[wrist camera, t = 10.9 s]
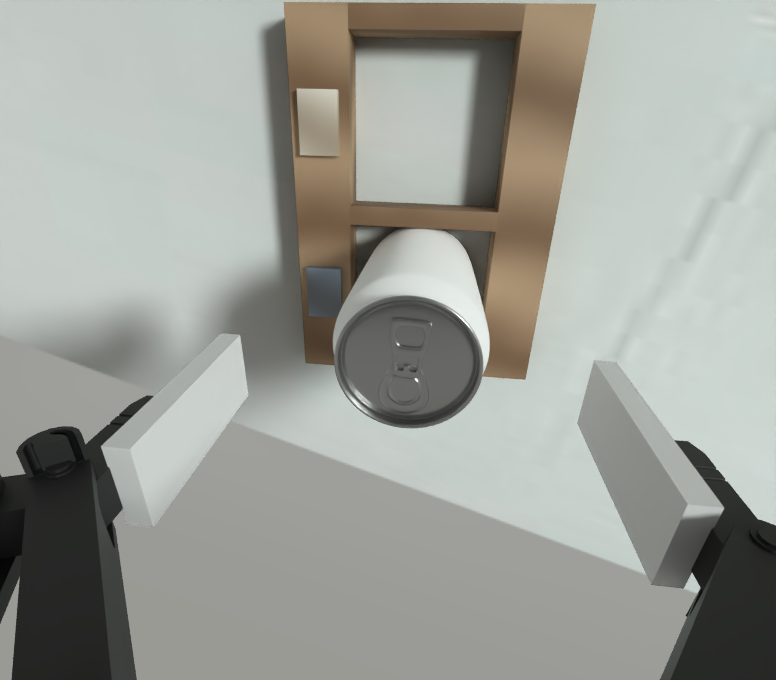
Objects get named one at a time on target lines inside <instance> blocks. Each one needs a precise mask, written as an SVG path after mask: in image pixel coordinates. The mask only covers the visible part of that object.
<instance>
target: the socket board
mask: <svg viewBox="0 0 776 680" xmlns="http://www.w3.org/2000/svg"><path fill="white" fill-rule="evenodd" d="M595 7H596V4H515V3H344V2H284V13H285V30H286V46H287V63H288V79H289V96H290V112H291V128H292V145H293V161H294V178H295V194H296V211H297V227H298V244H299V260H300V277H301V293H302V310H303V326H304V342H305V359H306V363H312V364H326V365H334V351H333V333H334V328H335V324H336V320H337V317H338V315H339V313H340V310H341V308H342V306H343V304H344V302H345V301H346V299H347V297H348V295H349V293H350V291H351V290H352V288H353V286H354V284H355V282H356V225H369V226H390V227H410V228H431V229H452V230H472V231H491V235H490V242H489V250H488V258H487V266H486V274H485V282H484V289H483V297H482V305H483V309H484V313H485V317H486V321H487V326H488V331H489V339H490V350H489V358H488V362H487V366H486V369H485V371H484V373H483V375H482V376H485V377H498V378H511V379H524V380H525V379H526V373H527V368H528V363H529V357H530V352H531V347H532V341H533V336H534V331H535V325H536V320H537V315H538V310H539V304H540V299H541V294H542V288H543V283H544V278H545V272H546V267H547V262H548V256H549V251H550V246H551V241H552V235H553V230H554V225H555V219H556V214H557V209H558V203H559V198H560V193H561V187H562V182H563V177H564V172H565V166H566V161H567V156H568V150H569V145H570V140H571V134H572V129H573V124H574V119H575V113H576V108H577V103H578V97H579V92H580V87H581V81H582V76H583V71H584V65H585V60H586V55H587V50H588V44H589V39H590V34H591V28H592V23H593V18H594V12H595ZM355 37H358V38H438V39H515V47H514V54H513V62H512V70H511V78H510V86H509V94H508V101H507V109H506V117H505V125H504V133H503V141H502V148H501V156H500V164H499V172H498V180H497V188H496V195H495V203H494V207H483V206H460V205H437V204H415V203H392V202H369V201H356V88H355Z"/></svg>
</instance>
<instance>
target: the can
mask: <svg viewBox="0 0 776 680" xmlns="http://www.w3.org/2000/svg"><path fill="white" fill-rule="evenodd" d="M489 350H490V339H489V331H488V326H487V321H486V317H485V313H484V309H483V305H482V301H481V297H480V293H479V290H478V286H477V282H476V278H475V275H474V271H473V268H472V264H471V261H470V259H469V256H468V254H467V252H466V250H465V249H464V247H463V246H462V245H461V243H460V242H459V241H458V240H457V239H456V238H455V237H454V236H452V235H451V234H449V233H448V232H446V231H444V230H442V229H431V228H410V227H403V228H400V229H398V230H396V231H394V232H392V233H391V234H389V235H388V236H387V237H385V238H384V239H383V240H382V241H381V242H380V243H379V244H378V246H377V247H376V249H375V250H374V252H373V253H372V255H371V256H370V258H369V260H368V262H367V263H366V265H365V267H364V268H363V270H362V272H361V274H360V275H359V277H358V279H357V281H356V282H355V284H354V286H353V288H352V290H351V291H350V293H349V295H348V297H347V299H346V301H345V302H344V304H343V306H342V308H341V310H340V313H339V315H338V317H337V320H336V324H335V328H334V333H333V351H334V366H335V372H336V376H337V380H338V382H339V385H340V387H341V389H342V390H343V392H344V394H345V395H346V397H347V398H348V399H349V400H350V402H351V403H352V404H353V405H354V406H355V407H356V408H357V409H359V410H360V411H361V412H362V413H364V414H365V415H367V416H368V417H370V418H372V419H374V420H376V421H378V422H381V423H383V424H386V425H390V426H394V427H400V428H423V427H429V426H433V425H436V424H439V423H442V422H444V421H446V420H448V419H450V418H452V417H453V416H455V415H456V414H458V413H459V412H460V411H462V410H463V409H464V408H465V407H466V406H467V405H468V404H469V402H470V401H471V400H472V398H473V397H474V395H475V394H476V392H477V390H478V388H479V385H480V383H481V379H482V375H483V373H484V371H485V369H486V366H487V362H488V358H489Z"/></svg>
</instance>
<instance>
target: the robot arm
mask: <svg viewBox="0 0 776 680" xmlns="http://www.w3.org/2000/svg"><path fill="white" fill-rule="evenodd" d="M247 396H248V388H247V381H246V374H245V366H244V359H243V352H242V345H241V337H240V335H237V334H223V333H221V334H220V335H219V336H218V337H217V338H215V339H214V340H213V341H212V342H211V343H210V344H209V345H208V346H207V347H206V348H205V349H204V350H203V351H202V352H201V353H200V354H198V355H197V356H196V357H195V358H194V359H193V360H192V361H191V362H190V363H189V364H188V365H187V366H186V367H185V368H184V369H183V370H181V371H180V372H179V373H178V374H177V375H176V376H175V377H174V378H173V379H172V380H171V381H170V382H169V383H168V384H167V385H166V386H164V387H163V388H162V389H161V390H160V391H159V392H158V393H157V394H156V395H155V396H145V397H143V398H141V399H140V400H138V401H136V402H134V403H132V404H131V405H129V406H128V407H127V408H126V409H125V410H124V411H123V412H121V413H120V415H119V416H117V417H116V418H115V419H114V420H112V421H111V423H110V425H107V426H106V427H105V428H104V429H103V430H102V431H100V432H99V433H98V434H97V435H96V436H95V437H94V438H93V439H91V440H90V441H89V442H88V443H87V444H86V445H85V442H84V439H83V437H82V434H81V432H80V431H79V429H77V428H74V427H57V428H51V429H48V430H46V431H43V432H40V433H37V434H36V435H34V436H32V437H30V438H28V439H27V440H26V441H24V442H23V443H22V444H21V445H20V446H19V448H18V450H17V452H16V453H17V455H18V457H19V459H20V462H21V464H22V466H23V469H24V471H25V473H26V474H23V475H16V476H8V477H1V475H0V623H1V620H2V618H3V615H4V613H5V611H6V608H7V606H8V603H9V601H10V598H11V596H12V593H13V591H14V589H15V586H16V584H17V581H18V579H19V577H20V582H19V595H18V607H17V619H16V633H15V645H14V657H13V669H12V680H137V679H136V671H135V664H134V658H133V650H132V643H131V636H130V629H129V622H128V615H127V608H126V601H125V594H124V586H123V579H122V573H121V566H120V558H119V551H118V544H117V536H116V530H115V526H114V524H113V520H114V518H115V517H116V516H117V515H118V514H119V512H120V511H121V510H123V513H124V516H125V519H126V522H127V525H134V526H143V527H152V528H154V526H155V525H156V523H157V522H158V521H159V519H160V518H161V516H162V515H163V514H164V512H165V511H166V509H167V508H168V507H169V505H170V504H171V503H172V501H173V500H174V498H175V497H176V496H177V494H178V493H179V491H180V490H181V489H182V487H183V486H184V484H185V483H186V482H187V480H188V479H189V477H190V476H191V475H192V473H193V472H194V470H195V469H196V468H197V466H198V465H199V463H200V462H201V461H202V459H203V458H204V456H205V455H206V453H207V452H208V451H209V449H210V448H211V446H212V445H213V444H214V443H215V441H216V440H217V438H218V437H219V435H220V434H221V433H222V431H223V429H225V427H226V426H227V424H228V423H229V422H230V420H231V419H232V417H233V416H234V415H235V413H236V412H237V410H238V409H239V408H240V406H241V405H242V403H243V402H244V401H245V399H246V398H247ZM577 424H578V426H579V428H580V430H581V432H582V435H583V437H584V439H585V441H586V443H587V445H588V448H589V450H590V452H591V454H592V456H593V459H594V461H595V463H596V465H597V467H598V469H599V472H600V474H601V476H602V478H603V480H604V483H605V485H606V487H607V489H608V491H609V493H610V496H611V498H612V500H613V502H614V504H615V507H616V509H617V511H618V513H619V515H620V518H621V520H622V522H623V524H624V526H625V528H626V531H627V533H628V535H629V537H630V539H631V542H632V544H633V546H634V548H635V550H636V552H637V555H638V557H639V559H640V561H641V563H642V566H643V568H644V570H645V572H646V574H647V576H648V579H649V581H650V583H651V585H658V586H667V587H675V588H684V587H685V585H686V583H687V581H688V579H689V577H690V575H691V573H693V575H694V576H695V578H696V580H697V582H698V584H699V585H700V587H701V588H700V590H699V592H698V594H697V596H696V598H695V599H694V602H693V603H692V605H691V607H690V609H689V611H688V613H687V614H686V616H687V619H686V621H685V624H684V626H683V628H682V630H681V633H680V635H679V637H678V639H677V642H676V644H675V646H674V649H673V651H672V653H671V656H670V658H669V661H668V663H667V665H666V667H665V670H664V672H663V674H662V676H661V679H660V680H776V526H775V525H773V524H770V523H767V522H765V521H762V520H758V519H757V518H756V517H755V515H754V514H753V513H752V512H751V510H750V509H749V508H748V507H747V505H746V504H745V503H744V502H743V500H742V499H741V498H740V497H739V495H738V494H737V493H736V492H735V490H734V489H733V488H732V487H731V485H730V484H729V483H728V482H726V481H725V478H724V477H723V476H722V474H721V473H720V472H719V471H718V470H716V467H715V466H714V464H713V463H712V462H711V461H710V459H709V458H708V457H707V456H706V454H704V453H703V452H702V451H700V450H699V449H698V448H696V447H695V446H694V445H692V444H691V443H690V442H688V441H676V440H674V439H673V438H672V437H671V435H670V434H669V432H668V431H667V430H666V428H665V427H664V426H663V424H662V423H661V422H660V420H659V419H658V418H657V416H656V415H655V414H654V412H653V411H652V410H651V408H650V407H649V406H648V404H647V403H646V401H645V400H644V399H643V397H642V396H641V395H640V393H639V392H638V391H637V389H636V388H635V387H634V385H633V384H632V383H631V381H630V380H629V379H628V377H627V376H626V375H625V373H624V372H623V370H622V369H621V368H620V366H619V365H618V364H617V362H607V361H594V363H593V367H592V370H591V374H590V378H589V382H588V385H587V389H586V393H585V396H584V400H583V404H582V408H581V411H580V415H579V419H578V422H577Z"/></svg>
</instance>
